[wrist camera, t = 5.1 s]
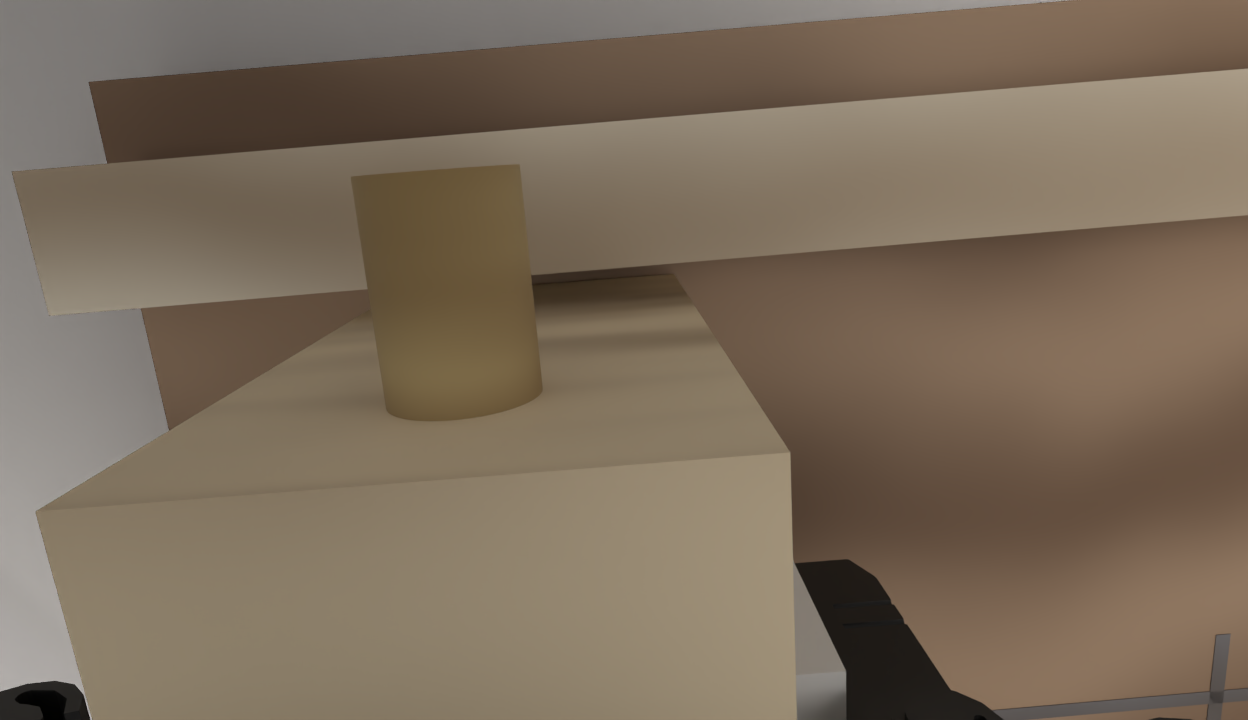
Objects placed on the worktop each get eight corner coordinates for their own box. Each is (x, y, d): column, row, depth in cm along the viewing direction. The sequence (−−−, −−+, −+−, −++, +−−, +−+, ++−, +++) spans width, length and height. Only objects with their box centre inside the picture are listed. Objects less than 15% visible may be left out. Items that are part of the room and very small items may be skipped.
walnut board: (154, 92, 15) (-57, 56, 10) (1438, -14, 15) (1827, -99, 10) (309, 821, 19) (210, 1042, 14) (1323, 733, 19) (1565, 922, 14)
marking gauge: (375, 179, 13) (-49, 204, 5) (666, 158, 13) (781, 140, 5) (463, 780, 16) (300, 1482, 8) (702, 760, 16) (815, 1438, 8)
